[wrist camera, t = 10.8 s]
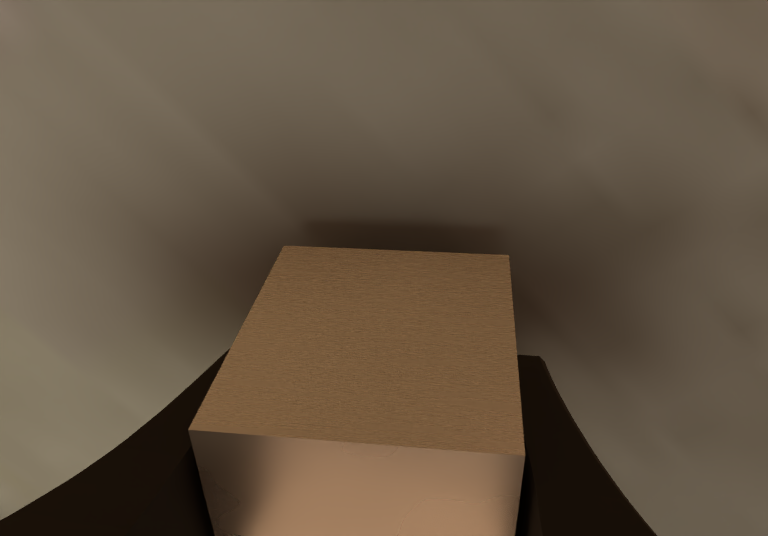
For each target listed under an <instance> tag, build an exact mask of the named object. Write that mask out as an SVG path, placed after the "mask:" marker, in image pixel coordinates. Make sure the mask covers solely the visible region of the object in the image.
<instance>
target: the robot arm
mask: <svg viewBox="0 0 768 536" xmlns="http://www.w3.org/2000/svg"><path fill="white" fill-rule="evenodd" d="M229 350H230V349H229ZM229 350H228V351H227V352H225V353H224V354H223V355H222V356H221V357H220V358H219V359H218V360H217V361H216V362H215V363H214V364H213V365H212V366H210V367H209V368H208V369H207V370H206V371H205V372H204V373H203V374H202V375H201V376H200V377H199V378H198V379H196V380H195V381H194V382H193V383H192V384H191V385H190V386H189V387H188V388H187V389H185V390H184V391H183V392H182V393H181V394H180V395H179V396H178V397H176V398H175V399H174V400H173V401H172V402H171V403H170V404H169V405H167V406H166V407H165V408H164V409H163V410H162V411H161V412H159V413H158V414H157V415H156V416H154V417H153V418H152V419H151V420H150V421H148V422H147V423H146V424H145V425H143V426H142V427H141V428H140V429H139V430H137V431H136V432H135V433H134V434H132V435H131V436H130V437H129V438H128V439H126V440H125V441H124V442H122V443H121V444H120V445H118V446H117V447H116V448H114V449H113V450H111V451H110V452H109V453H107V454H106V455H105V456H103V457H102V458H100V459H99V460H97V461H96V462H95V463H93V464H92V465H90V466H89V467H87V468H86V469H84V470H83V471H81V472H80V473H79V474H77V475H76V476H74V477H72V478H71V479H69V480H68V481H66V482H65V483H63V484H61V485H60V486H58V487H56V488H55V489H53V490H51V491H50V492H48V493H46V494H45V495H43V496H41V497H40V498H38V499H36V500H35V501H33V502H31V503H30V504H28V505H26V506H25V507H23V508H22V509H20V510H18V511H16V512H15V513H13V514H11V515H9V516H8V517H6V518H4V519H2V520H0V536H214V532H213V528H212V524H211V520H210V516H209V512H208V508H207V504H206V500H205V496H204V491H203V487H202V483H201V479H200V475H199V471H198V467H197V463H196V459H195V455H194V451H193V447H192V443H191V439H190V435H189V431H188V429H189V427H190V425H191V423H192V421H193V419H194V418H195V416H196V414H197V412H198V410H199V408H200V406H201V404H202V402H203V400H204V398H205V396H206V394H207V393H208V391H209V389H210V387H211V385H212V383H213V381H214V379H215V377H216V375H217V373H218V371H219V369H220V368H221V366H222V364H223V362H224V360H225V358H226V356H227V354H228V352H229ZM517 360H518V373H519V385H520V397H521V410H522V422H523V434H524V447H525V462H524V469H523V477H522V485H521V492H520V500H519V508H518V515H517V523H516V531H515V536H657V535H656V534H655V533H654V531H653V530H652V529H651V528H650V527H649V526H648V524H647V523H646V522H645V521H644V519H643V518H642V517H641V516H640V515H639V513H638V512H637V511H636V510H635V508H634V507H633V506H632V505H631V503H630V502H629V501H628V499H627V498H626V497H625V496H624V494H623V493H622V492H621V490H620V489H619V488H618V486H617V485H616V483H615V482H614V481H613V479H612V478H611V476H610V475H609V474H608V472H607V471H606V469H605V468H604V466H603V465H602V464H601V462H600V461H599V459H598V458H597V456H596V455H595V453H594V452H593V450H592V449H591V447H590V445H589V444H588V442H587V441H586V439H585V437H584V436H583V434H582V432H581V431H580V429H579V428H578V426H577V424H576V423H575V421H574V419H573V418H572V416H571V414H570V412H569V411H568V409H567V407H566V405H565V403H564V401H563V400H562V398H561V396H560V394H559V392H558V390H557V388H556V386H555V384H554V382H553V380H552V378H551V376H550V373H549V371H548V369H547V367H546V364H545V362H544V361H543V360H542V359H541V358H540V356H527V355H517Z"/></svg>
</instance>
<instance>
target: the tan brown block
mask: <svg viewBox="0 0 768 536" xmlns="http://www.w3.org/2000/svg"><path fill="white" fill-rule="evenodd" d="M188 431H189V435H190V439H191V443H192V447H193V451H194V455H195V459H196V463H197V467H198V471H199V475H200V479H201V483H202V487H203V491H204V496H205V500H206V504H207V508H208V512H209V516H210V520H211V524H212V528H213V532H214V536H515V531H516V523H517V515H518V508H519V500H520V492H521V485H522V477H523V469H524V462H525V447H524V434H523V422H522V410H521V397H520V385H519V373H518V360H517V348H516V336H515V323H514V311H513V299H512V286H511V274H510V262H509V255H493V254H470V253H446V252H423V251H399V250H376V249H352V248H329V247H305V246H283V248H282V250H281V252H280V254H279V256H278V258H277V260H276V262H275V264H274V266H273V268H272V269H271V271H270V273H269V275H268V277H267V279H266V281H265V283H264V285H263V287H262V289H261V291H260V293H259V294H258V296H257V298H256V300H255V302H254V304H253V306H252V308H251V310H250V312H249V314H248V316H247V318H246V319H245V321H244V323H243V325H242V327H241V329H240V331H239V333H238V335H237V337H236V339H235V341H234V343H233V344H232V346H231V348H230V350H229V352H228V354H227V356H226V358H225V360H224V362H223V364H222V366H221V368H220V369H219V371H218V373H217V375H216V377H215V379H214V381H213V383H212V385H211V387H210V389H209V391H208V393H207V394H206V396H205V398H204V400H203V402H202V404H201V406H200V408H199V410H198V412H197V414H196V416H195V418H194V419H193V421H192V423H191V425H190V427H189V429H188Z"/></svg>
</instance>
